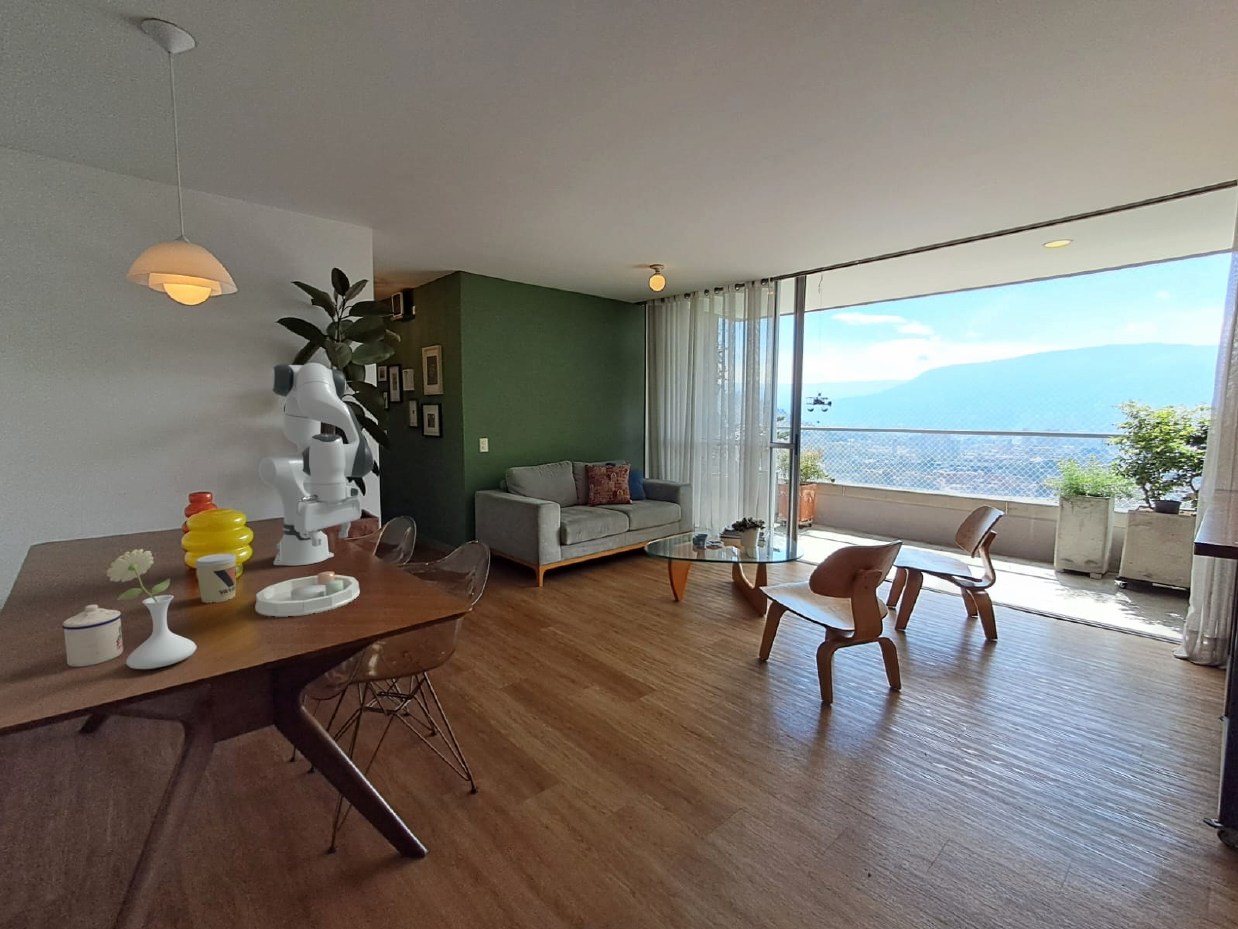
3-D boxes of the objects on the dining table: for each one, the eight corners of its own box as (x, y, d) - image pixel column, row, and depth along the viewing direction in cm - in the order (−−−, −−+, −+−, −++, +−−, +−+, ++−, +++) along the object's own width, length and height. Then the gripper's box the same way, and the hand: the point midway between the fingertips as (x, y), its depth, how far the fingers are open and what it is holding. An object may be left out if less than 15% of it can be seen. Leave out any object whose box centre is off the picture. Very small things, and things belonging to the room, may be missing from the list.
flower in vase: (189, 645, 121) (181, 538, 119) (203, 660, 114) (195, 545, 112) (111, 666, 111) (100, 549, 109) (121, 684, 104) (110, 558, 102)
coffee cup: (222, 604, 148) (219, 562, 147) (189, 604, 148) (186, 561, 147) (246, 593, 157) (244, 553, 156) (215, 592, 158) (212, 553, 156)
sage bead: (326, 596, 152) (325, 581, 151) (344, 594, 153) (343, 579, 153) (325, 601, 148) (324, 585, 147) (343, 598, 149) (342, 583, 149)
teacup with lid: (131, 654, 117) (127, 603, 116) (74, 672, 109) (69, 616, 108) (110, 643, 123) (106, 593, 122) (54, 658, 115) (49, 606, 114)
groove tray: (251, 597, 153) (250, 585, 153) (348, 580, 169) (347, 569, 169) (260, 624, 133) (260, 611, 133) (370, 602, 150) (369, 590, 149)
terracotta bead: (316, 587, 159) (316, 573, 159) (333, 584, 162) (332, 570, 161) (319, 591, 156) (319, 576, 155) (336, 588, 158) (335, 574, 158)
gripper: (305, 499, 137) (308, 552, 138) (364, 488, 156) (366, 534, 158) (286, 497, 139) (289, 549, 140) (347, 487, 158) (348, 532, 160)
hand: (330, 541), depth 149 cm, fingers open, 8 cm apart
